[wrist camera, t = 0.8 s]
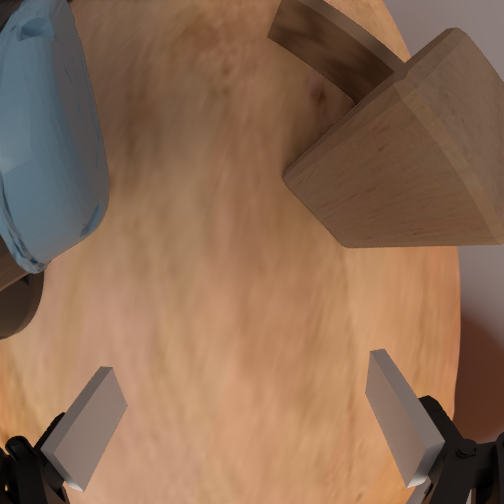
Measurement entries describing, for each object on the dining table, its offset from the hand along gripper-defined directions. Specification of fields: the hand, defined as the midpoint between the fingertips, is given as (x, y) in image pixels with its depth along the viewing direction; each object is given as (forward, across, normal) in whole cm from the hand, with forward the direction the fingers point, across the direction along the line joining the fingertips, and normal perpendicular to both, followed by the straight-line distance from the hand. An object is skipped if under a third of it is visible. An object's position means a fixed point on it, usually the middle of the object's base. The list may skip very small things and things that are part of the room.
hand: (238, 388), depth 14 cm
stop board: (+22, +14, +20) cm, 33 cm away
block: (+19, +10, +8) cm, 24 cm away
